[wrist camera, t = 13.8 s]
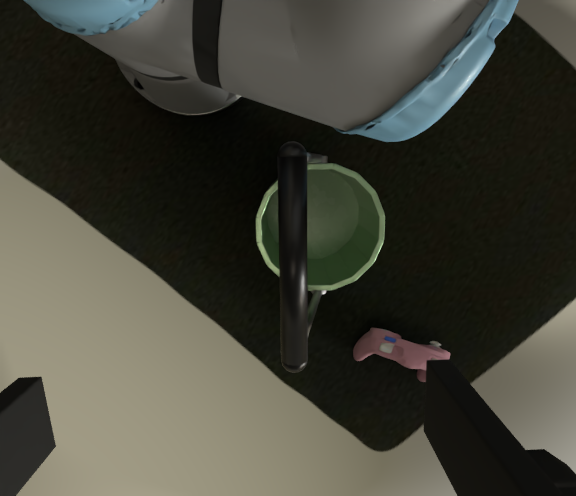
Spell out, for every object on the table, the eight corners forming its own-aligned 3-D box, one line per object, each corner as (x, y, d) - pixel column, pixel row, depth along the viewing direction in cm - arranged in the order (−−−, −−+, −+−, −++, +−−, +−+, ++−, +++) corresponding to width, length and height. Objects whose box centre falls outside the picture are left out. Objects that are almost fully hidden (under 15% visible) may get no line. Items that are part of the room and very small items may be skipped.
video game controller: (430, 345, 47) (464, 347, 40) (422, 382, 46) (456, 391, 39) (357, 321, 46) (379, 319, 40) (347, 357, 45) (368, 362, 38)
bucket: (264, 272, 43) (243, 378, 22) (261, 152, 40) (233, 141, 19) (360, 271, 43) (431, 375, 22) (363, 150, 40) (450, 138, 19)
